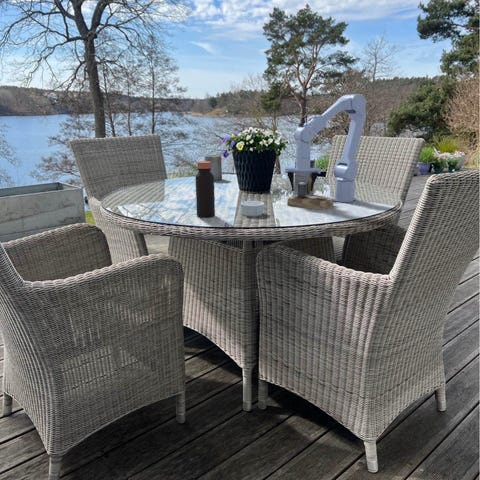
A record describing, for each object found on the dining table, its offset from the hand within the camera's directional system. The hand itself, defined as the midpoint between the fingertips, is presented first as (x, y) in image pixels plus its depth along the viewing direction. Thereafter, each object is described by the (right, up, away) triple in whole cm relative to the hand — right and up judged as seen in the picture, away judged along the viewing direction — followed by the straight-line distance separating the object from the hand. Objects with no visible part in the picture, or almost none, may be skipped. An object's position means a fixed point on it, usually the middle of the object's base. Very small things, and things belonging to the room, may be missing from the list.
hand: (302, 190), depth 175 cm
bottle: (-39, -12, -17) cm, 44 cm away
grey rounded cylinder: (0, -5, +2) cm, 5 cm away
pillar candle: (-41, +14, +70) cm, 82 cm away
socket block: (+3, -6, 0) cm, 7 cm away
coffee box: (+4, 0, +21) cm, 21 cm away
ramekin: (-21, -11, -15) cm, 28 cm away
